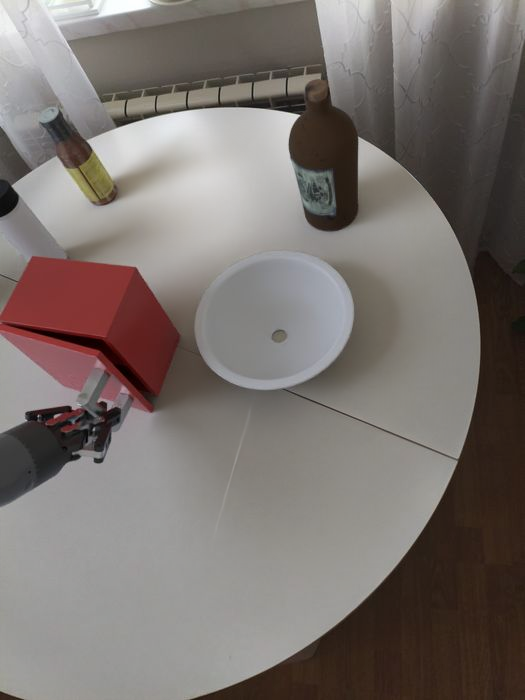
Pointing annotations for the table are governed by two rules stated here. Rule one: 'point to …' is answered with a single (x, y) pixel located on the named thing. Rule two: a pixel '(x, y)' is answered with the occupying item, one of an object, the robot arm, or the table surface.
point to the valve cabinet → (97, 315)
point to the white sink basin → (274, 320)
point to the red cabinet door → (79, 372)
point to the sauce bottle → (78, 158)
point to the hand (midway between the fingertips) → (111, 410)
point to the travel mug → (25, 227)
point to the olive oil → (325, 160)
